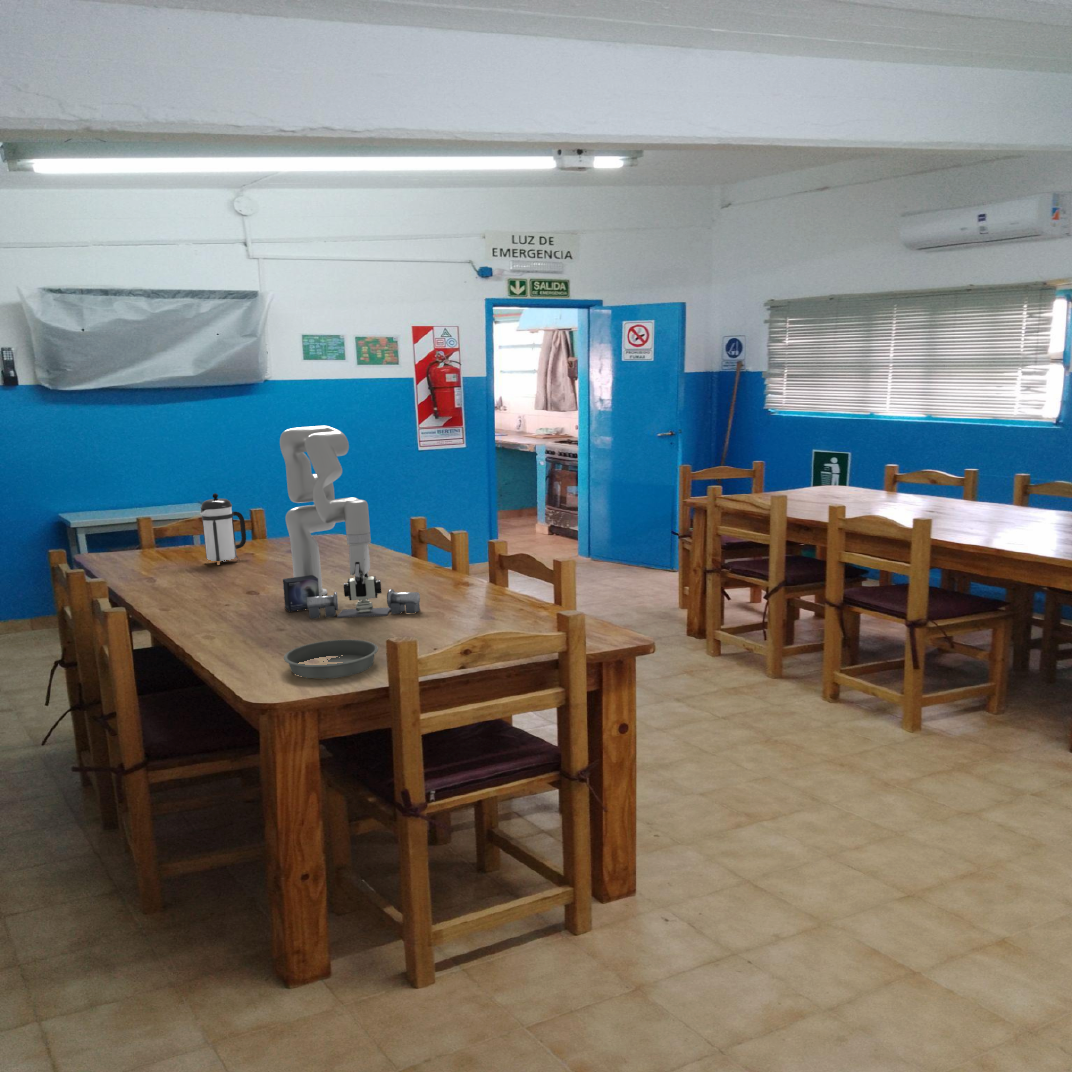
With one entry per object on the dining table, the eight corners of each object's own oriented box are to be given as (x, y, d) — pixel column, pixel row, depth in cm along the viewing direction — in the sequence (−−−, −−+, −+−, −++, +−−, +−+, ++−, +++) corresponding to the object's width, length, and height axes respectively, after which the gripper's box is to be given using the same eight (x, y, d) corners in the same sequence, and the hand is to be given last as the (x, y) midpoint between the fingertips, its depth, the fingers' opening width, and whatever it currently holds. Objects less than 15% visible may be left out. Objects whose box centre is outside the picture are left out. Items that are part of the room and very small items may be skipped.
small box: (289, 613, 339) (286, 581, 338) (284, 609, 345) (281, 578, 343) (321, 608, 344) (318, 577, 342) (315, 604, 350) (313, 574, 348)
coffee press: (236, 565, 432) (229, 494, 427) (199, 567, 433) (191, 496, 428) (248, 557, 449) (242, 489, 444) (212, 559, 450) (205, 491, 445)
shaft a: (308, 619, 329) (306, 596, 328) (309, 614, 335) (307, 592, 334) (338, 616, 330) (336, 593, 329) (338, 612, 336) (336, 589, 335)
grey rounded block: (388, 614, 330) (386, 591, 328) (394, 610, 335) (392, 587, 334) (416, 614, 328) (414, 591, 327) (421, 609, 334) (420, 587, 332)
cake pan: (268, 681, 264) (267, 664, 264) (308, 654, 288) (307, 638, 287) (359, 682, 259) (357, 665, 258) (392, 655, 283) (391, 639, 282)
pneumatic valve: (383, 611, 331) (380, 575, 329) (346, 615, 329) (342, 578, 327) (382, 607, 336) (379, 571, 334) (346, 611, 335) (343, 575, 333)
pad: (337, 617, 329) (337, 616, 329) (343, 611, 338) (343, 609, 337) (386, 615, 328) (386, 613, 328) (391, 609, 337) (391, 607, 337)
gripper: (352, 535, 337) (357, 589, 340) (341, 543, 321) (346, 600, 323) (375, 533, 337) (379, 588, 340) (365, 542, 320) (369, 599, 323)
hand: (363, 593), depth 332 cm, fingers open, 5 cm apart
